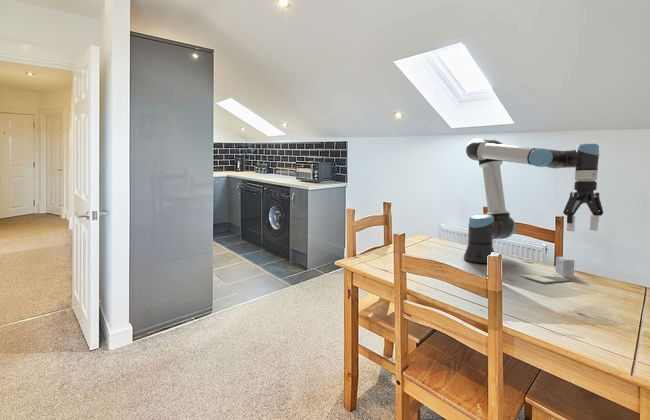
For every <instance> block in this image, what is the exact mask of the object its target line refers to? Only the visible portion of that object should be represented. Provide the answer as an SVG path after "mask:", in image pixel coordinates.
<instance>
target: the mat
mask: <svg viewBox="0 0 650 420" xmlns="http://www.w3.org/2000/svg"><path fill="white" fill-rule="evenodd" d="M519 277H522V278H524V279H525V280H529V281H532V282H536V283H539V284H543V285H551V284H557V283H559V284H560V283H568V282H569V283H570V282H572V281H573V280H572V279H570V278H569V279H568V278H565V277H562V276H551V275H550V276H549V275H547V276H546V275H545V276H544V275H535V274H519Z"/></svg>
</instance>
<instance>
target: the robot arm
mask: <svg viewBox="0 0 650 420" xmlns="http://www.w3.org/2000/svg"><path fill="white" fill-rule="evenodd" d="M465 153H466V155H467V157H468V158H469V159H471V160H473V161H478V167H480V168H481V169H482V174H483V180H484V181H483V182H484V188H485V189H484V190H485V198H486V206H487V212H486V213H485V214H474V215H472V216H470V217H469V219H468V220H469V221H468V234H467V235H468V238H467V247H466V249H465V252H464V254H463V259H464V260H465V261H468V262H471V263H481V264H488V263H487V256H488V255H490V254H491V252H494V253H495V250H494V246H493V243H494V240H503V239H508V238H510V237H512V236H513V235H514V234H515V233H516V228H517V225H516V222H515V220H514V219H513V218H512V217H511V215H510V211H508V210H507V209H506V201H505V193H504V188H503V187H504V186H503V180H502V172H501V166H502V164H503V162H509V163H516V164H523V165H530V166H535V167H539V168H550V169H566V168H575V172H574V180H575V181H574V187H573V189H574V190H575V191H571V192H569V198H568V200H567V202H566V205H565V207H564V208H563V209H564V210H563V211H562V213H563V215H565V216H566V223H567V224H566V231H567V232H575V230H576V229H575V227H576V226H575V225H576V224H575V223H576V215H575V214H576V213H577V211H578V210H579V208H580V206H581V205H583V204H586V205H587V207H588V209H589V212H590V213H591V214H592V215H590V224H589V231H595V232H598V231H599V230H598V229H599V222H600V216H603V215H604V209H603V205H602V203H601V198H600V192H594V191H597V188H598V187H597V186H598V185H597V184H598V182H597V181H598V170H599V169H598V167H599V160H600V159H599V158H600V146H599V144H598V143H597V144H596V143H581V144H577V146H576V148H575V149H573V150H572V149H571V150H557V149H550V148H549V149H547V148H541V147H539V148H537V147H527V146H519V145H518V146H517V145H509V144H507V145H506V144H504V143H502V142H501V141H499V140H495V139H486V138H485V139H484V138H474V139H472V140H471V141H469V142H468V144H467V145H466V148H465Z"/></svg>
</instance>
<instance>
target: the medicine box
mask: <svg viewBox="0 0 650 420" xmlns="http://www.w3.org/2000/svg"><path fill="white" fill-rule="evenodd" d="M555 273H556V274H558V275H560V277H562V278H566V279H568V278H569V279H574V278H575V260H574V259H572V258H569V257H567V256H566V257H565V256H556V257H555Z"/></svg>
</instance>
